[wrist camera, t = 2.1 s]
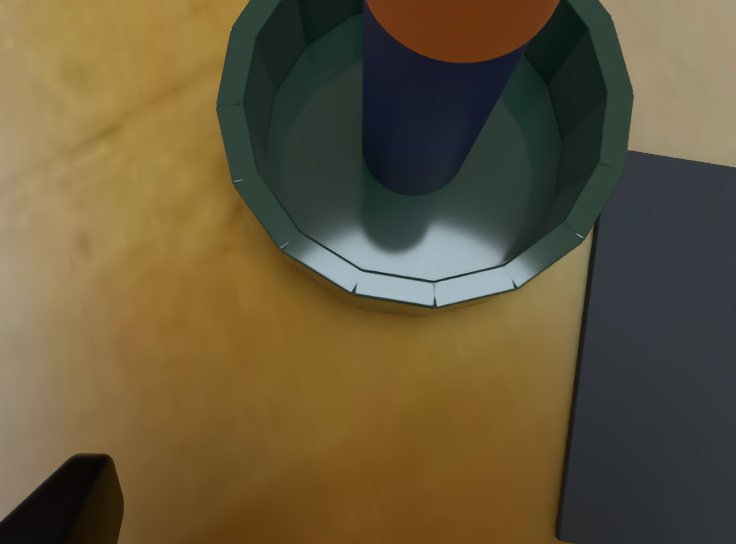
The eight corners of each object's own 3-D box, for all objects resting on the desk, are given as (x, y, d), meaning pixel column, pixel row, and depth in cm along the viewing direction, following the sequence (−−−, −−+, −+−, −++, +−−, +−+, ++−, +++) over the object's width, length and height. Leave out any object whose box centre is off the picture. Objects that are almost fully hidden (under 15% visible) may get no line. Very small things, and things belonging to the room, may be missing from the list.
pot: (553, 340, 21) (604, 336, 17) (220, 285, 21) (183, 268, 17) (595, 21, 23) (653, -60, 18) (279, -29, 23) (259, -123, 18)
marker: (460, 207, 21) (602, 3, 9) (350, 189, 21) (336, -39, 9) (476, 100, 22) (634, -239, 9) (368, 83, 22) (380, -279, 9)
